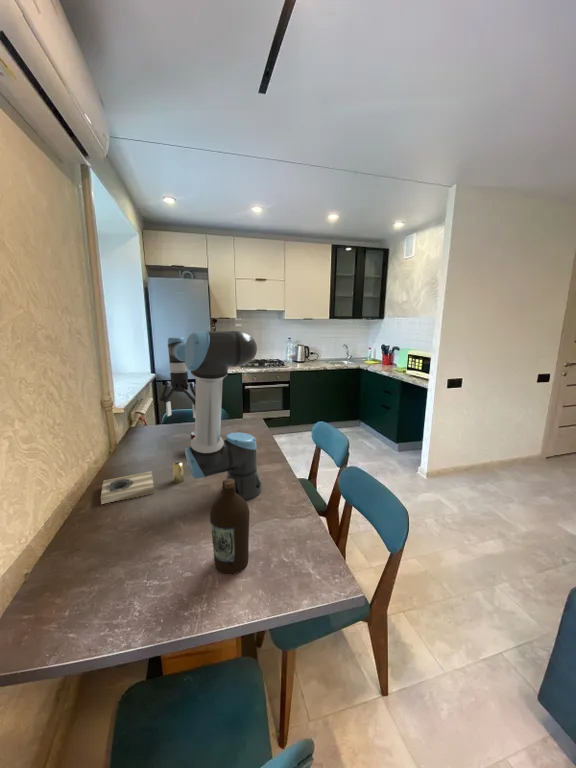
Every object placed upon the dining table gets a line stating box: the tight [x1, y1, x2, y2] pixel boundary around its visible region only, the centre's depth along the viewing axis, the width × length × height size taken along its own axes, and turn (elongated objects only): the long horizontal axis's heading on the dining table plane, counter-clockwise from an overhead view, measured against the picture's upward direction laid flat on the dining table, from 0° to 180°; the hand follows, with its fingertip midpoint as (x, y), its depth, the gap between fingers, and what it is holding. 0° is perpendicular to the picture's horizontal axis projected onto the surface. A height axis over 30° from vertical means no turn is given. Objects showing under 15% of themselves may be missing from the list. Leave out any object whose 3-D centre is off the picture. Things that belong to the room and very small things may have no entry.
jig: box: [100, 471, 155, 505], centre depth 125 cm, size 14×18×3 cm
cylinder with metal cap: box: [172, 460, 185, 484], centre depth 132 cm, size 4×4×8 cm
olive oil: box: [209, 478, 250, 575], centre depth 86 cm, size 11×11×25 cm
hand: (182, 416), depth 146 cm, fingers open, 13 cm apart
